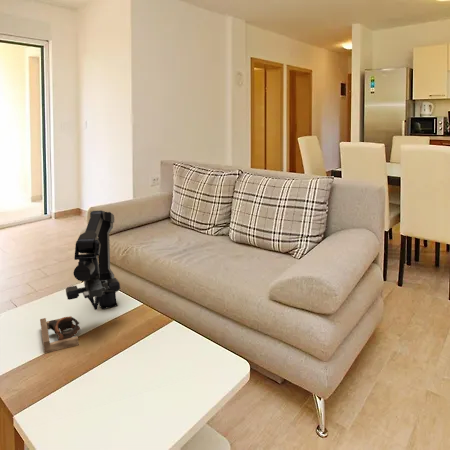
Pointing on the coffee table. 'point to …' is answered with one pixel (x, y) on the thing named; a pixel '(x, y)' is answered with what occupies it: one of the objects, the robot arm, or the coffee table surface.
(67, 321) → the pottery mug
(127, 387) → the coffee table surface
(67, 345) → the walnut guide channel
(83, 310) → the coffee table surface
